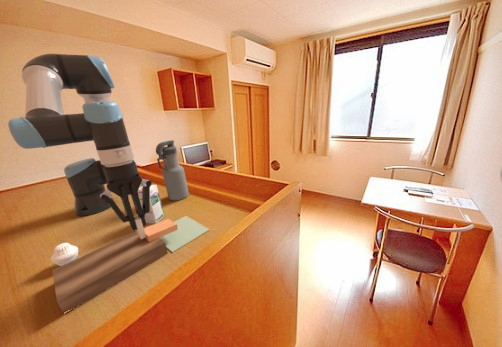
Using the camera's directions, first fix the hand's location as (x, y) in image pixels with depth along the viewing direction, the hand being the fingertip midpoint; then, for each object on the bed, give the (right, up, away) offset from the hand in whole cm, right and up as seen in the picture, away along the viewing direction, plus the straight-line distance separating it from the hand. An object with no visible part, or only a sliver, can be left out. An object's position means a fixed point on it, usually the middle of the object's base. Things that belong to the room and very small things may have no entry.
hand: (142, 236), depth 60 cm
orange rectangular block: (+4, 0, +4) cm, 5 cm away
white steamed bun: (-21, -8, -1) cm, 23 cm away
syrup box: (-6, 0, +19) cm, 20 cm away
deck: (-5, -7, -4) cm, 10 cm away
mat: (+8, -2, +10) cm, 13 cm away
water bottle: (-3, +7, +39) cm, 40 cm away
